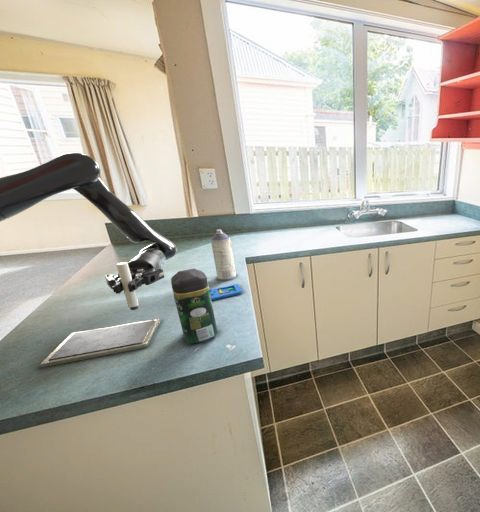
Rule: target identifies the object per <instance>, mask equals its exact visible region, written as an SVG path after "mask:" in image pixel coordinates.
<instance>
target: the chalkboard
mask: <svg viewBox="0 0 480 512" xmlns="http://www.w3.org/2000/svg"><path fill="white" fill-rule="evenodd" d="M161 320H162V319H161V318H154V319H148V320H142V321H136V322H130V323H124V324H118V325H112V326H106V327H100V328H93V329H87V330H81V331H74V332H71V333H70V334H69V335H68V336H67V337H66V338H65V339H64V340H63V341H61V343H60V344H59V345H58V346H57V347H56V348H55V349H54V350H53V351H52V352H51V353H50V354H49V355H48V356H47V357H46V358H45V359H43V361H42V362H41V363H40V367H41V368H47V367H52V366H57V365H58V366H59V365H62V364H67V363H72V362H78V361H83V360H88V359H93V358H100V357H105V356H108V355H109V356H110V355H114V354H119V353H125V352H129V351H130V352H131V351H135V350H140V349H146V348H148V347H149V345H150V342H151V340H152V338H153V337H154V335H155V333H156V331H157V329H158V328H159V325H160V324H161V322H162V321H161Z"/></svg>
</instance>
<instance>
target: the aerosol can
mask: <svg viewBox="0 0 480 512" xmlns="http://www.w3.org/2000/svg"><path fill="white" fill-rule="evenodd" d="M222 230H223V229H216V233H214V235H212V237H210V245H211V249H212V255H213V261H214V266H215V273H216V277H217V281H221V282H225V281H230V280H232V279H233V280H234V279H235V278H236V277H237V273H236V266H235V261H234V260H235V259H234V255H233V248H232V241H231V238H230V235H227V233H225V232H224V231H222Z"/></svg>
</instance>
